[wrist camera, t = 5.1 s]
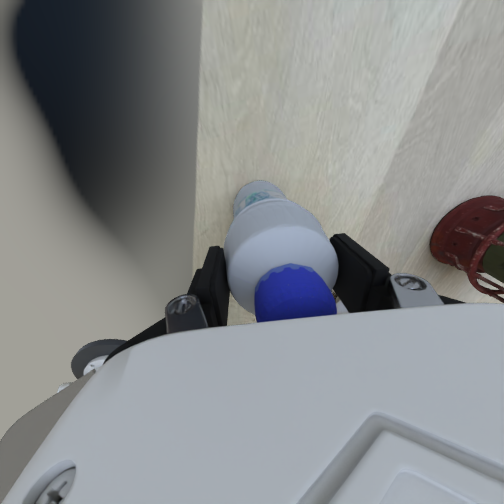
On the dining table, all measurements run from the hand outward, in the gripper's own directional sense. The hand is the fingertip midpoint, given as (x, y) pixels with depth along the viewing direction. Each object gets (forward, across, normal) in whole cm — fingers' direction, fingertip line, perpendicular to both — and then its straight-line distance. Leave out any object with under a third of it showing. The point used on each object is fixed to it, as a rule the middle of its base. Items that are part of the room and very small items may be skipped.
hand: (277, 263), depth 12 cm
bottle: (+15, 0, 0) cm, 15 cm away
